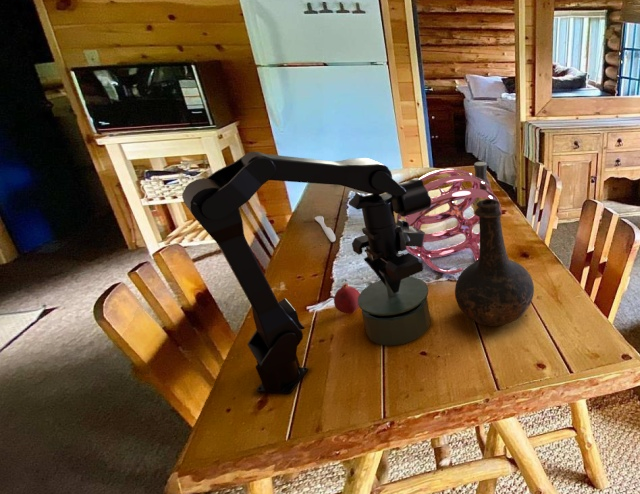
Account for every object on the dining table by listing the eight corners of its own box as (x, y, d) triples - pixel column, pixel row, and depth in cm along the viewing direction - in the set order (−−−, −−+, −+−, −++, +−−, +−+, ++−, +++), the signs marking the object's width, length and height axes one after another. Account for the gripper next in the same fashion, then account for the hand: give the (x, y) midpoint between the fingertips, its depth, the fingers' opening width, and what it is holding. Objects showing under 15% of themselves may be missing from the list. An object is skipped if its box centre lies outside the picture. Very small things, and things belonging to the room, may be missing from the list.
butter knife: (322, 215, 154) (313, 217, 152) (338, 239, 136) (328, 242, 135) (323, 216, 154) (313, 218, 152) (338, 241, 136) (328, 243, 135)
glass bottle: (520, 286, 113) (516, 182, 100) (546, 326, 98) (546, 210, 85) (450, 301, 107) (438, 192, 94) (467, 346, 92) (454, 224, 79)
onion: (355, 322, 100) (347, 292, 96) (332, 319, 101) (324, 289, 97) (368, 307, 105) (362, 278, 101) (347, 304, 106) (340, 276, 102)
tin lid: (416, 319, 88) (413, 298, 86) (346, 316, 89) (340, 295, 87) (436, 281, 101) (434, 261, 99) (375, 279, 102) (371, 260, 100)
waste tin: (419, 347, 92) (415, 321, 89) (356, 344, 93) (350, 319, 90) (437, 309, 104) (434, 285, 101) (381, 307, 105) (376, 284, 102)
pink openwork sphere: (518, 217, 103) (475, 133, 114) (403, 263, 98) (369, 171, 108) (520, 263, 129) (484, 192, 139) (429, 303, 123) (399, 225, 133)
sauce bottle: (471, 217, 153) (467, 161, 144) (489, 214, 155) (485, 159, 146) (477, 224, 147) (473, 166, 138) (495, 221, 150) (492, 164, 141)
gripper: (441, 224, 86) (449, 291, 93) (393, 200, 98) (403, 261, 105) (390, 242, 79) (402, 313, 86) (344, 214, 91) (358, 279, 98)
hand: (392, 289), depth 94 cm, fingers closed on tin lid, 2 cm apart
